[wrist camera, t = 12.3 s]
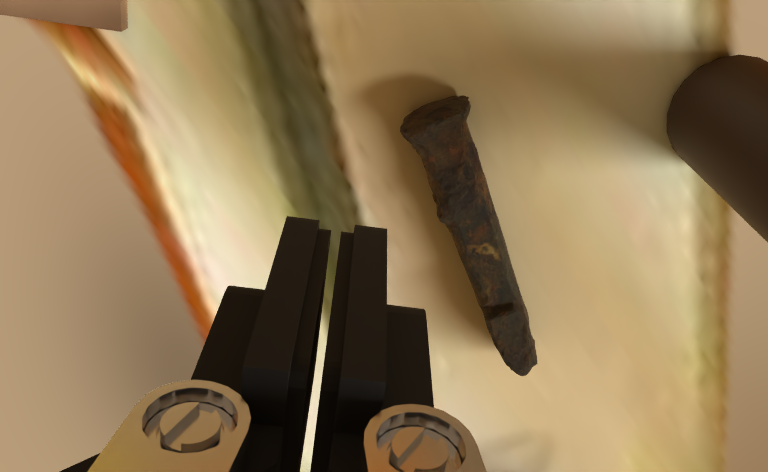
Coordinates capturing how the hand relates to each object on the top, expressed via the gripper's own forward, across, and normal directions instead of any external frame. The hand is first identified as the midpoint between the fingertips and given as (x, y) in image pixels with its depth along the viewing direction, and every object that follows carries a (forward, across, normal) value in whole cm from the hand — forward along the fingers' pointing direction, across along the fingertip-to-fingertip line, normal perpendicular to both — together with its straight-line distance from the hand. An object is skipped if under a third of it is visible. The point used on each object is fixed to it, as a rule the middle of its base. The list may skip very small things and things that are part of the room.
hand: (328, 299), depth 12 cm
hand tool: (+30, -9, +13) cm, 33 cm away
